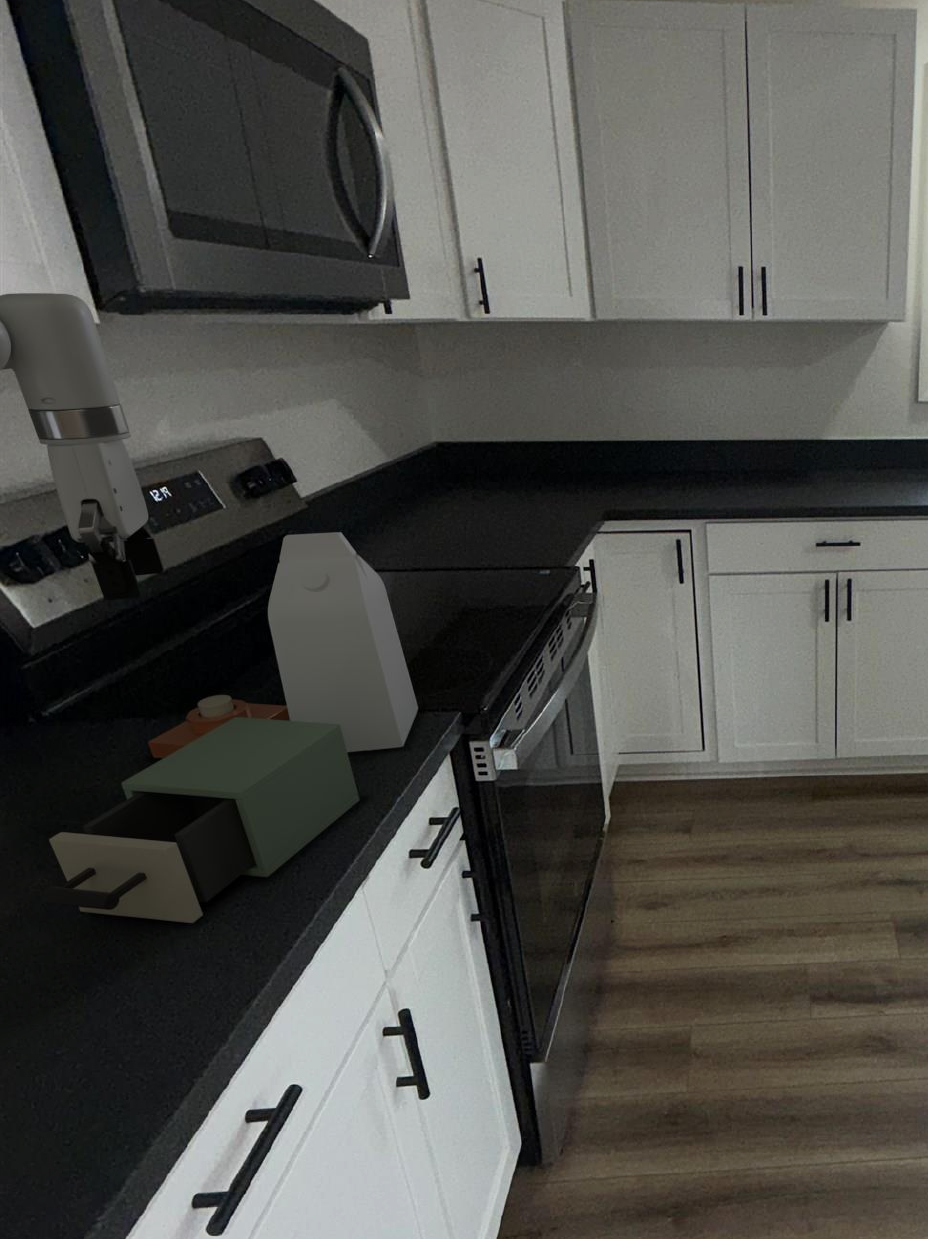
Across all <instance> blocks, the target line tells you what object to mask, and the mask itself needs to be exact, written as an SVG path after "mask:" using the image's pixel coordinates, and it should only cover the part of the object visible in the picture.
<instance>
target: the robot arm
mask: <svg viewBox="0 0 928 1239" xmlns="http://www.w3.org/2000/svg"><path fill="white" fill-rule="evenodd" d="M10 369H11V370H12V371H13V373H14V375H15V378H16V380H17V383H18V385H19V388H20V390H21V394H22V397H23V399H24V403H25V405H26V408H27V411H28V413H29V417H30V419H31V422H32V425H33V428H34V430H35V433H36V435H37V436H36V437H37V438H38V441H39V444H41V445H46V449H47V456H48V461H49V465H50V470H51V475H52V478H53V481H54V486H55V489H56V492H57V495H58V496H57V497H58V499H59V503H60V506H61V510H62V513H63V515H64V519H65V522H66V525H67V528H68V531H69V535H70V537H71V539H72V540H73V541H75V542H77V543H84V545H83V546H84V550H85V551H86V552H87V553H88V560H89V563H90V564H91V566H92V569H93V572H94V575H95V577H96V580H97V583H98V585H99V588H100V592H101V594H102V597H103V599H104V600H105V601H117V600H127V599H137V598H139V597H140V596H141V595H142V589H141V587H140V585H139V582H138V579H137V576H145V575H146V576H147V575H157V574H162V573H163V572H164V565H163V562H162V559H161V556H160V553H159V550H158V547H157V544H156V540H155V538H154V537H153V531H152V528H151V527H150V525H149V524H148V523H147V522H148V520H149V512H148V511H149V510H148V508H147V503H146V500H145V497H144V494H143V491H142V488H141V484H140V481H139V478H138V476H137V473H136V470H135V468H134V464H133V462H132V461H131V457H130V454H129V452H128V449H127V447H126V445H125V442H124V440H127V439H130V438H131V437H132V434H131V432H130V428H129V425H128V422H127V419H126V415H125V413H124V409H123V407H122V404H121V400H120V397H119V394H118V390H117V387H116V384H115V382H114V378H113V375H112V372H111V369H110V365H109V362H108V359H107V356H106V352H105V350H104V346H103V344H102V341H101V337H100V334H99V330H98V328H97V324H96V322H95V318H94V316H93V313H92V310H91V308H90V307H89V306H88V304H87V303H86V302H85V301H84V300H83V299H82V298H80V297H78V296H76V295H73V294H70V293H69V294H68V293H54V292H53V293H52V292H50V293H49V292H48V293H47V292H46V293H45V292H28V293H26V292H23V293H21V292H20V293H19V292H18V293H16V292H15V293H4V294H0V371H2V370H10ZM111 543H113V546H112V545H111Z"/></svg>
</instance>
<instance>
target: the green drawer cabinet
mask: <svg viewBox="0 0 928 1239" xmlns="http://www.w3.org/2000/svg"><path fill="white" fill-rule="evenodd" d="M120 785H121V787H122V789H123V792H124V795H125V798H126V800H127V799H129V798H131V797H132V796H134V795H136V794H137V793H139V792H141V791H144V792H156V793H168V794H180V795H192V796H204V797H216V798H228V799H235V801H236V804H237V807H238V810H239V813H240V816H241V819H242V822H243V825H244V828H245V831H246V834H247V837H248V840H249V843H250V846H251V849H252V852H253V855H254V859H255V862H256V863H255V864H254V865H253V866H251V867H250V868H249V869H248V870H246V871H245V872H244V873H243V874H241V875H240V876H249V877H260V878H261V877H262V878H268V877H270V876H271V875H272V874H273V873H274V872H276V871H277V870H278V869H279V868H280V867H282V865H284V864H285V863H286V862H287V861H289V860H290V859H291V858H292V857H293V856H295V855H296V854H297V853H299V851H301V850H302V849H303V848H304V847H306V846H307V845H308V844H309V843H311V842H312V841H313V840H314V839H315V838H316V837H317V836H319V835H320V834H321V833H322V832H324V831H326V829H327V828H328V827H329V826H331V825H332V824H333V823H334V822H335V821H337V820H338V819H340V817H342V816H343V815H344V814H345V813H346V812H348V811H349V810H350V809H351V808H352V807H353V806H355V805H356V804H357V803H358V802H360V796H359V793H358V789H357V785H356V782H355V777H354V773H353V769H352V766H351V761H350V757H349V754H348V752H347V750H346V746H345V742H344V738H343V735H342V731H341V727H340V724H328V723H314V722H299V721H285V720H270V719H256V718H242V717H234V718H233V719H231V720H229V721H227V722H226V723H224V724H222V725H221V726H219V727H217V728H215V729H214V730H212V731H210V732H208V733H207V734H205V735H203V736H201V737H200V738H198V739H196V740H195V741H193V742H191V743H189V744H188V745H186V746H184V747H182V748H181V749H179V750H177V751H176V752H174V753H172V754H170V755H169V756H167V757H165V758H161V759H160V760H158V761H156V762H154V763H153V764H151V765H150V766H148V767H146V768H144V769H143V770H141V771H139V772H137V773H136V774H133V775H132V776H130V777H128V778H127V779H125V780H124V781H122V782H121V783H120Z"/></svg>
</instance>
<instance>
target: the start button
mask: <svg viewBox="0 0 928 1239" xmlns="http://www.w3.org/2000/svg"><path fill="white" fill-rule="evenodd" d="M232 700H233V699H232V697H231V696H230V695H228V694H216V695H212V696H207V697H205V698H202V699H201V700H199V701H198V702H197V707H198V708H199V711H200V714H201V717H202V718H211V717H218V716H222V715H225V714H228V713H230V712H232V711H234V710H235V708H234V705H233V702H232Z"/></svg>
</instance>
